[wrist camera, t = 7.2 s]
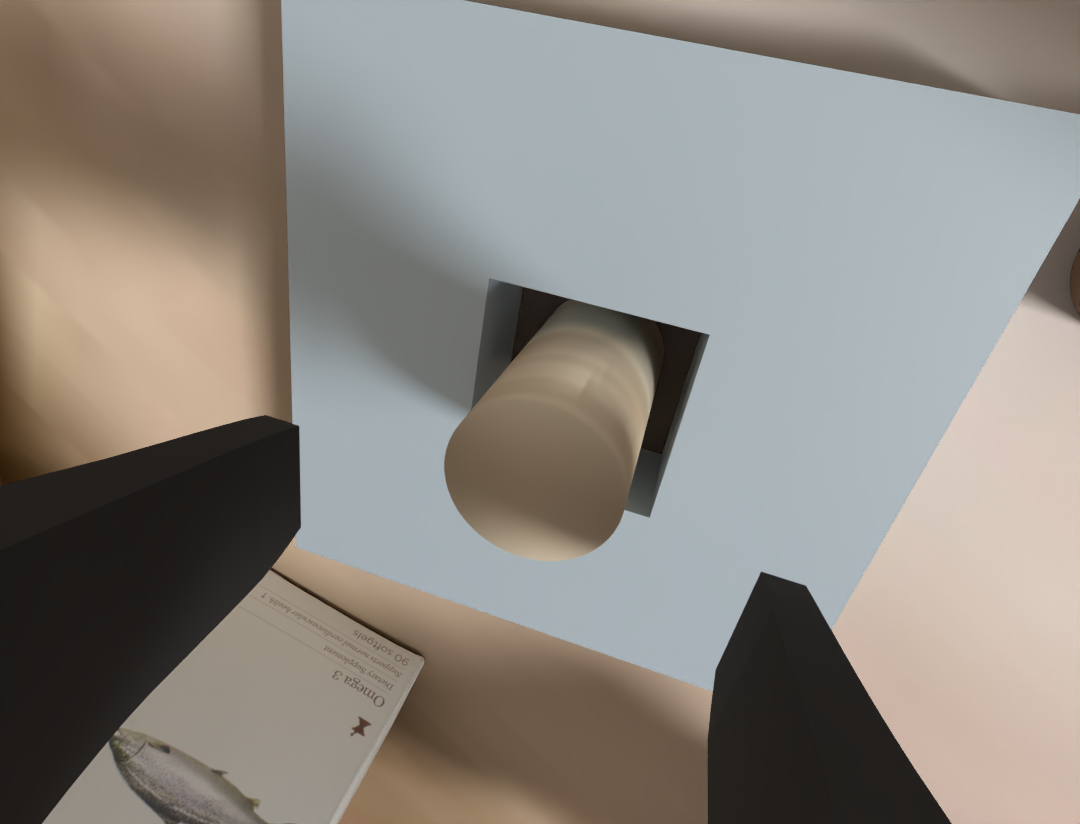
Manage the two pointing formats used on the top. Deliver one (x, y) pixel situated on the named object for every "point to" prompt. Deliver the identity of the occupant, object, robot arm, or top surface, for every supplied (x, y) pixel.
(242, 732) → the supplement box
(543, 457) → the long dowel
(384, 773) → the top surface
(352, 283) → the hole board
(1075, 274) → the short dowel
